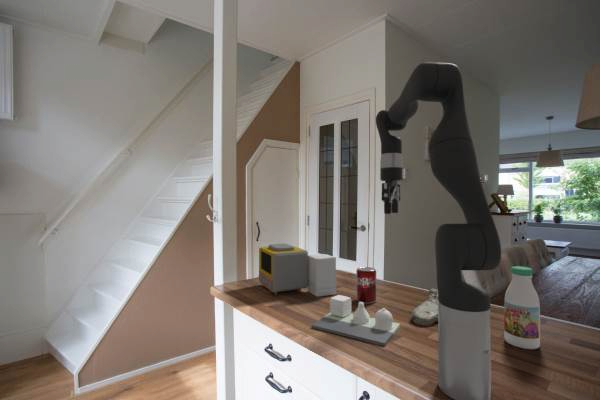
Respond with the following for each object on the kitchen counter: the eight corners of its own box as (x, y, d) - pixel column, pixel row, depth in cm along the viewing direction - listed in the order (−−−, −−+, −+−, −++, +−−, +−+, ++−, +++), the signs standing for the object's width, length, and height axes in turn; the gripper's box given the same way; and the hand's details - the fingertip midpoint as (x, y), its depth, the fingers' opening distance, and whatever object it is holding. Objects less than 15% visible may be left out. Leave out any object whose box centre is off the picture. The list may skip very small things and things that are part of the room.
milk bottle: (506, 334, 88) (506, 263, 88) (540, 342, 83) (540, 267, 83) (502, 344, 82) (502, 268, 82) (539, 353, 77) (539, 272, 77)
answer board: (400, 326, 94) (400, 323, 94) (384, 346, 81) (384, 343, 81) (334, 312, 106) (334, 309, 106) (311, 327, 93) (311, 324, 93)
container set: (329, 315, 101) (329, 298, 101) (338, 310, 105) (338, 294, 105) (388, 332, 88) (388, 312, 88) (396, 326, 92) (396, 307, 92)
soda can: (376, 304, 113) (376, 271, 113) (356, 303, 114) (356, 270, 114) (376, 298, 120) (375, 267, 120) (356, 297, 122) (356, 266, 121)
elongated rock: (402, 326, 98) (435, 336, 92) (402, 309, 98) (435, 319, 91) (437, 293, 125) (464, 300, 118) (437, 280, 124) (465, 286, 118)
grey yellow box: (257, 285, 139) (257, 243, 139) (290, 281, 145) (290, 241, 145) (272, 298, 121) (272, 250, 121) (309, 292, 128) (308, 247, 128)
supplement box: (336, 294, 125) (336, 257, 125) (316, 297, 122) (316, 258, 122) (326, 288, 133) (326, 253, 133) (307, 291, 130) (307, 255, 130)
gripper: (396, 164, 102) (396, 214, 102) (407, 168, 114) (407, 212, 114) (374, 166, 106) (374, 214, 106) (386, 169, 118) (386, 212, 118)
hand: (391, 213), depth 110 cm, fingers open, 8 cm apart
